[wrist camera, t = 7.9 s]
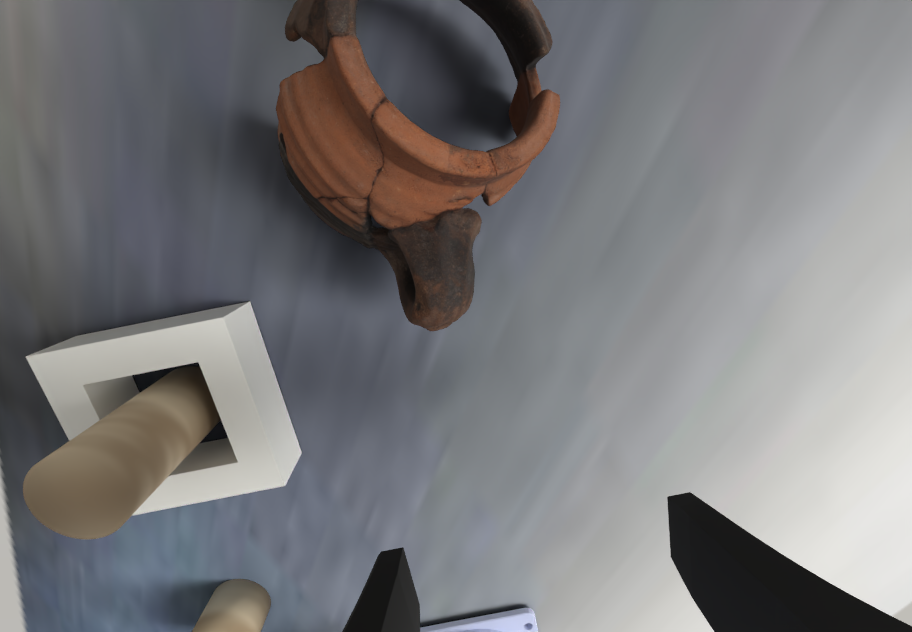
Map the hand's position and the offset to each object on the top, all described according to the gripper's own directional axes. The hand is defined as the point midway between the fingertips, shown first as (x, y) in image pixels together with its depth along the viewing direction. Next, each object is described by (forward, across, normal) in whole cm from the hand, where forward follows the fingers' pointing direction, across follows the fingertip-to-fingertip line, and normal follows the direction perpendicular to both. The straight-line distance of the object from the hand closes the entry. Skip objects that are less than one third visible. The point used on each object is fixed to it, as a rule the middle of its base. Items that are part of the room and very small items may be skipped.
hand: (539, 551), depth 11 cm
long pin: (+10, +14, -2) cm, 17 cm away
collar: (+10, +14, -2) cm, 17 cm away
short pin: (+10, +16, +10) cm, 21 cm away
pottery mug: (+10, +2, -11) cm, 15 cm away
